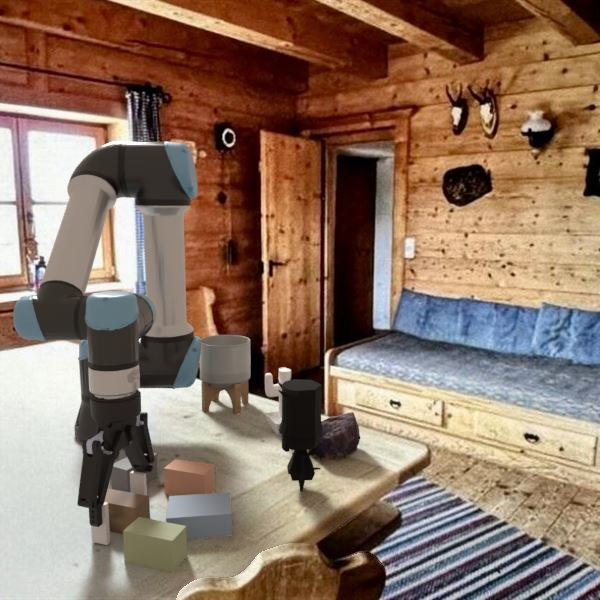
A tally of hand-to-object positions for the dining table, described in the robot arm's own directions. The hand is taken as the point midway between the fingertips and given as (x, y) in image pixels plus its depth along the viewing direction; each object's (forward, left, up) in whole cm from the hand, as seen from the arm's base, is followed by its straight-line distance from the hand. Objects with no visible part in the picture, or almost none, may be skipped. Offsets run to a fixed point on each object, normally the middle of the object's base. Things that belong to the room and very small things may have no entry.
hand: (121, 524), depth 91 cm
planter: (-8, +57, -1) cm, 58 cm away
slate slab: (+12, +4, -1) cm, 13 cm away
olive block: (+10, -6, 0) cm, 12 cm away
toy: (+24, +21, 0) cm, 32 cm away
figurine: (+12, +46, 0) cm, 48 cm away
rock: (+27, +37, -1) cm, 46 cm away
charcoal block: (-6, +13, 0) cm, 14 cm away
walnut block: (0, 0, 0) cm, 0 cm away
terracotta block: (+5, +14, 0) cm, 14 cm away
